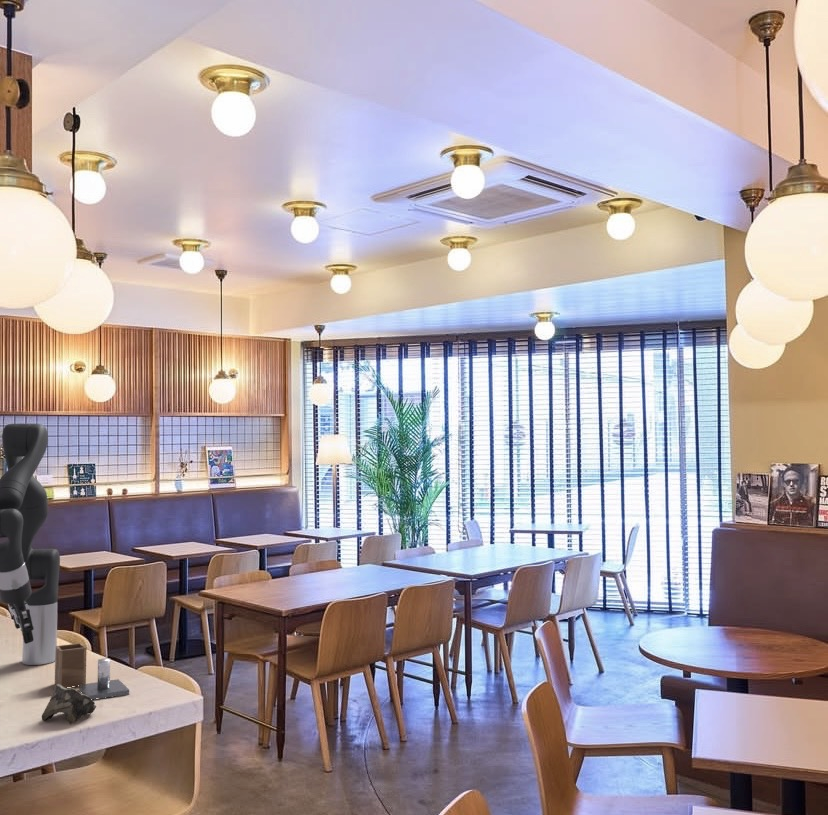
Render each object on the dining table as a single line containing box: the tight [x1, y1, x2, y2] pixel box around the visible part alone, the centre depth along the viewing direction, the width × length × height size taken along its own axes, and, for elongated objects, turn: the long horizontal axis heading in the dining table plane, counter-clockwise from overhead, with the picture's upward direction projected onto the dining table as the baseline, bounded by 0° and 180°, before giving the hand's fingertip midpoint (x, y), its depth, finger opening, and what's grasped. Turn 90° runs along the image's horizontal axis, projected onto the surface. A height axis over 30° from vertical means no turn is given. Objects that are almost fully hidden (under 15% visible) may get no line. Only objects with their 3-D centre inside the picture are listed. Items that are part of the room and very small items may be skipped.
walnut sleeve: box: [54, 642, 88, 688], centre depth 219 cm, size 7×7×10 cm
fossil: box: [41, 684, 97, 725], centre depth 190 cm, size 11×9×10 cm
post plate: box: [78, 657, 130, 699], centre depth 212 cm, size 12×10×8 cm
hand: (24, 634), depth 215 cm, fingers open, 8 cm apart
